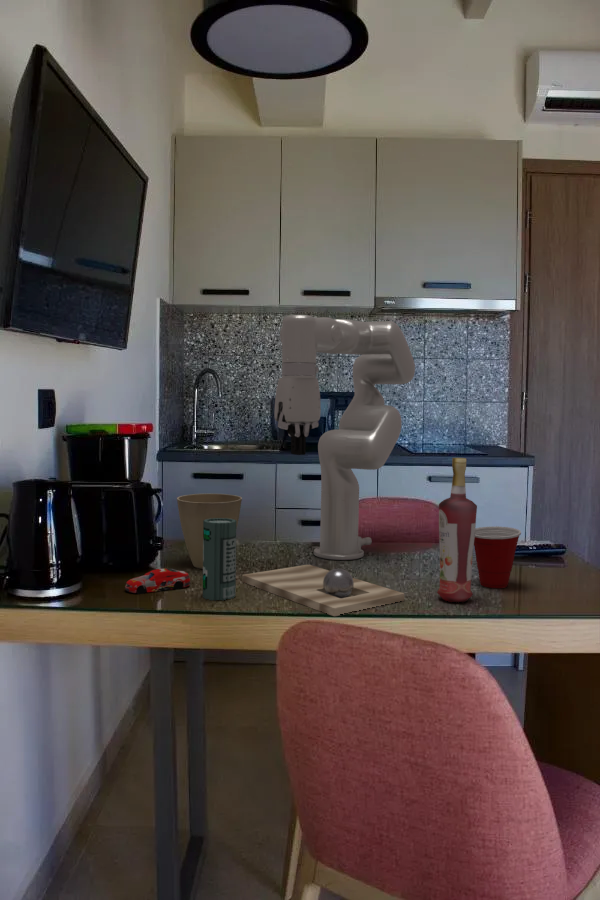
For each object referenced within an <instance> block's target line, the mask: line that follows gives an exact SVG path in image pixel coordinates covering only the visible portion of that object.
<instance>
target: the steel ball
mask: <svg viewBox="0 0 600 900" xmlns="http://www.w3.org/2000/svg"><path fill="white" fill-rule="evenodd" d="M328 571H329V572H328V573H327V574H326V575H325V577H324V580H323V588H324V591H325V592H326V594H329V595H332V596H335V597H338V598H346V597H350V595H352V594H351V592H352V590H353V586H354V582H353V578H354V577H353V576H352V575H351V573H350V572H349V571H347V570H345V569H344V568H338V567H337V568H333V569H331V570H328Z"/></svg>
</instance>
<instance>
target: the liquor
mask: <svg viewBox="0 0 600 900" xmlns="http://www.w3.org/2000/svg"><path fill="white" fill-rule="evenodd" d="M451 462H452V463H451V464H452V465H451V467H452V468H451V469H452V480H451V481H452V482H451V489H450V495H449V497H448V498H445V499H442V501H441V502H439V503H438V536H439V537H438V539H439V540H438V541H439V588H438V590H437V591H436V593H437V594H438V596H440V598H441V599H442V600H444V601H445V602H447V601H448V602H449V603H452V602H456V603H455V604H460V603H459V602H462V603H465V602H467V601H469V599H470V598H471V597H473V592H472V589H471V588H472V572H473V571H472V570H473V569H472V568H473V557H474V549H475V547H474V538H475V528H477V527H476V525H477V514H478V513H477V511H478V505H477V504H476V503H475V502H474V501H473V500H471V499H468V498H467V494H466V493H467V489H466V470H467V458H465V457H452V461H451ZM457 602H458V603H457Z"/></svg>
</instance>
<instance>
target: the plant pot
mask: <svg viewBox="0 0 600 900" xmlns="http://www.w3.org/2000/svg"><path fill="white" fill-rule="evenodd" d="M176 501H177V509H178V515H179V522H180V526H181V532H182V536H183V538H184V542H185V546H186V549H187V552H188V555H189V558H190V561H191V562H192V565H193V567H195V568H197V569H202V570H203V521H204V520H206V519H210V518H211V519H213V518H228V519H233V520H236V530H237V529H238V526H239V525H238V524H239V519H240V514H241V508H242V501H243V497H242V496H239V495H235V494H229V493H228V494H227V493H194V494H193V493H192V494H184V495H180V496H178V497H176Z"/></svg>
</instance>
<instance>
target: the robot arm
mask: <svg viewBox="0 0 600 900" xmlns="http://www.w3.org/2000/svg"><path fill="white" fill-rule="evenodd" d="M279 338H280V341H281V347H282V348H281V362H282V363H281V377H279V378H278V381H277V385H276V389H275V390H276V391H275V397H274V398H275V399H274V414H273V415H274V420H275V422H277V428H279V429H281V430H285V431H286V432H287V434H288V436H289V437H290V454H291V455H294V456H295V455H296V456H302V455H303V456H304V455H306V453H307V452H306V451H307V450H306V447H307V444H306V443H307V441H306V440H307V437H308V436H309V433H310V432H311V431H312V429H315V428H318V427H319V425H320V424H319V421H320V419H321V410H322V409H321V408H322V407H321V405H322V404H321V393H320V385H319V380H318V378H317V374H318V373H319V367H318V366H317V353H321V354H322V353H323V354H332V355H334V354H335V355H338V354H339V355H359V356H358V357H356V358H355V360H354V362H353V365H352V380H353V391H354V396H353V397H352V399H351V401H350V403H349V404H348V406H347V408H346V409H345V411H344V412H343V414H342V416H341V417H340V419H339V423H338V429H331V430H327V431H326V432H323V434H322V435H321V436H320V437H319V440H318V443H317V451H318V452H317V453H318V459H319V465H320V475H321V477H320V478H321V481H320V482H321V489H320V528H319V531H320V533H319V536H320V537H319V547H318V546H317V547H316V548H314V550H313V555H314V556H316V557H318V558H320V559H326V560H332V561H333V560H337V561H347V560H348V561H349V560H351V561H352V560H357V559H361V558H363V557H364V555H365V551H364V550H363V549H362V547H363V546H368V545H369V546H371V545H372V542H373V541H372V538H371V537H369V536H368V537H367V536H366V537H362V536H359V515H360V514H359V512H360V511H359V510H360V508H359V507H360V484H359V482H358V481H359V480H358V479H357V477H356V475H355V473H354V472H353V470H370V471H371V470H373V471H375V470H379V469H381V468H382V467H383V466H385V464H386V462H387V460H388V458H389V457H390V455H391V454H392V452H393V449H394V448H395V445H396V443H397V442H398V440H399V437H400V434H401V431H402V425H403V424H402V417H401V416H402V415H401V413H400V412H399V410H398V409H397V408H396V407H394V406H392V405H386V404H385V399H384V397H383V395H382V393H381V392H380V391H379V389H378V388H377V387H376V385H406V384H408V383H411V381H412V380H413V379H414V377H415V373H416V372H415V371H416V365H415V361H414V357H413V354H412V351H411V350H410V349H411V348H410V347H409V344H408V341H407V339H406V336H405V335H404V332H403V331H402V329H401V328H400V326H399V325H398V324H397V323H396V322H395V321H392V320H386V321H385V320H384V321H383V320H382V321H380V320H379V321H361V320H354V319H353V320H352V319H346V318H339V319H337V318H335V319H334V318H332V317H327V316H324V317H323V316H318V317H314V316H312V315H308V314H289V315H286V316H285V317H283V320H282V324H281V328H280V332H279ZM352 469H353V470H352Z"/></svg>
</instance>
